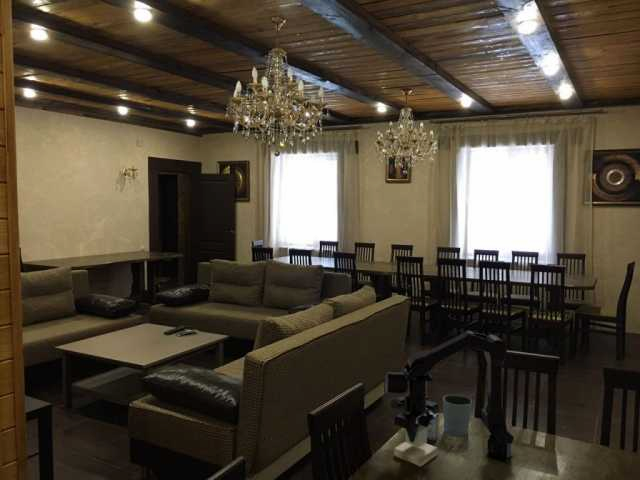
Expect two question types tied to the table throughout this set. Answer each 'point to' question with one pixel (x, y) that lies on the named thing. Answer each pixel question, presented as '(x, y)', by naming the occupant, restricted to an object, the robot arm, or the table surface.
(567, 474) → the table surface
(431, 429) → the medicine box
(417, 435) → the green cube
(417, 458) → the birch block
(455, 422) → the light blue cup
